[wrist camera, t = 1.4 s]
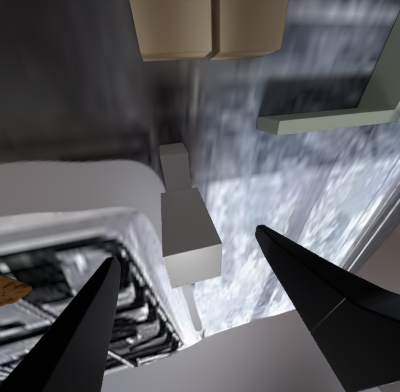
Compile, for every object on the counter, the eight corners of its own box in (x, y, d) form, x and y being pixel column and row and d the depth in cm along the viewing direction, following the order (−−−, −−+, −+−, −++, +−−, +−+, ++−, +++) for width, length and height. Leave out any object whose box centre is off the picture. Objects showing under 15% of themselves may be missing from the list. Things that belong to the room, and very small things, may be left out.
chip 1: (197, -34, 9) (209, -74, 7) (201, 59, 11) (211, 50, 9) (123, -38, 8) (111, -84, 6) (143, 61, 10) (140, 52, 8)
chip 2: (268, -29, 9) (298, -65, 7) (258, 57, 12) (280, 48, 10) (205, -32, 9) (219, -71, 7) (208, 60, 11) (220, 52, 9)
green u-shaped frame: (491, -163, 8) (628, -271, 6) (360, 118, 16) (396, 121, 14) (304, -222, 7) (393, -413, 4) (256, 129, 14) (276, 135, 12)
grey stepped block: (187, 142, 14) (224, 194, 6) (195, 218, 18) (219, 298, 11) (153, 145, 13) (147, 207, 6) (170, 223, 18) (178, 310, 11)
